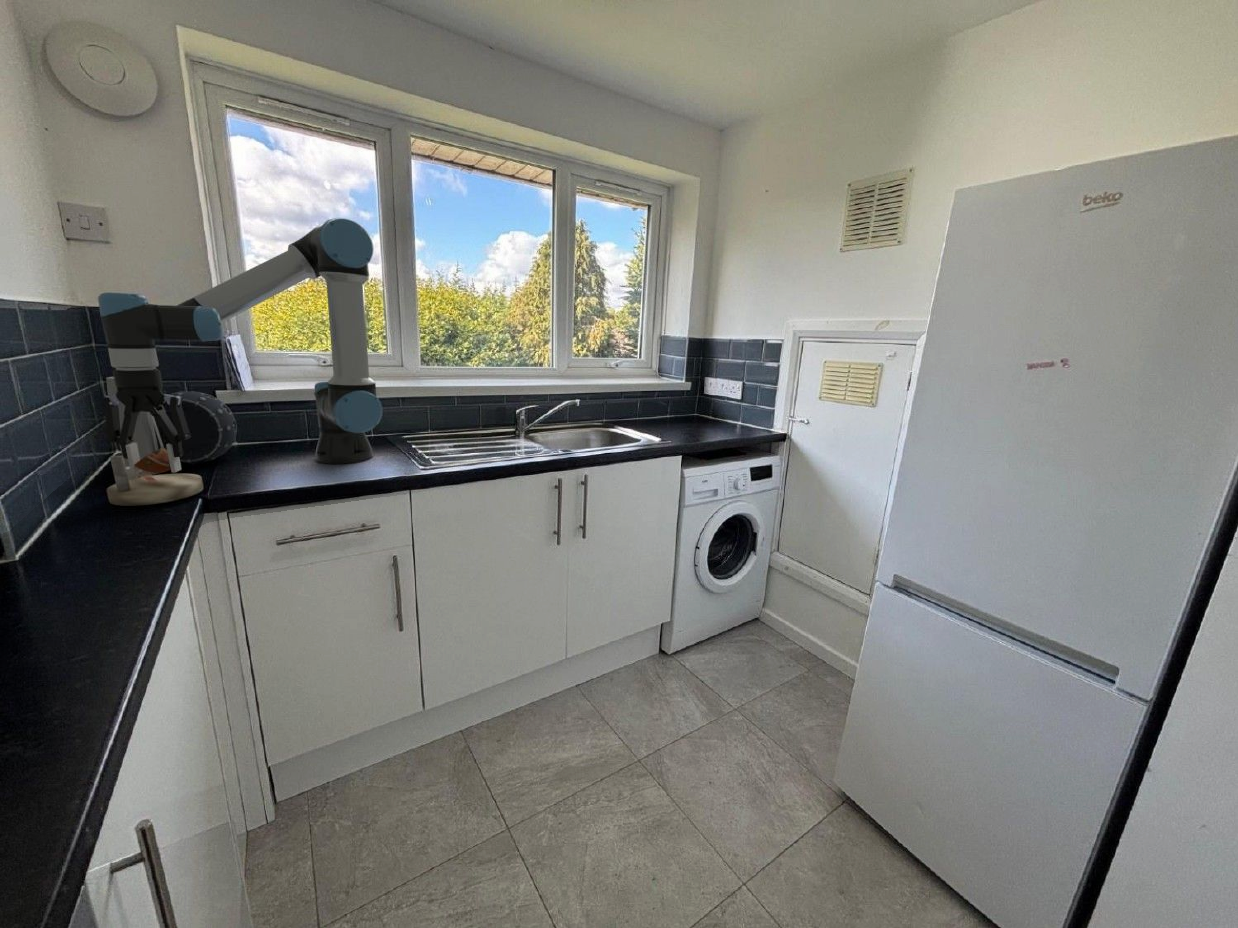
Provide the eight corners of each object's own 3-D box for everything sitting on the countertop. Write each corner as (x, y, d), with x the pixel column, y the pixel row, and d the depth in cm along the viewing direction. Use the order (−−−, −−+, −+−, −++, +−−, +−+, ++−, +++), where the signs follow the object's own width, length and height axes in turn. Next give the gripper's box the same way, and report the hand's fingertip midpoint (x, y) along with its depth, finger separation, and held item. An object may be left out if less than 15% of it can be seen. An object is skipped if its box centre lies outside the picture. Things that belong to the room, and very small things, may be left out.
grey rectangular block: (141, 487, 123) (137, 467, 121) (127, 490, 120) (123, 469, 119) (136, 485, 124) (132, 466, 122) (123, 488, 122) (118, 468, 120)
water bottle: (116, 478, 129) (93, 378, 122) (142, 470, 136) (122, 375, 130) (156, 478, 130) (135, 379, 123) (179, 470, 137) (160, 376, 131)
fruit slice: (166, 476, 113) (162, 454, 112) (128, 478, 111) (123, 456, 110) (183, 467, 121) (180, 446, 120) (148, 468, 119) (144, 447, 117)
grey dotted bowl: (231, 465, 144) (219, 393, 139) (144, 468, 138) (128, 394, 133) (246, 456, 154) (235, 389, 148) (165, 459, 148) (151, 389, 143)
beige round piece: (164, 479, 126) (156, 439, 124) (220, 488, 121) (213, 446, 118) (82, 498, 111) (71, 454, 109) (141, 509, 106) (131, 463, 104)
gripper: (198, 367, 116) (215, 465, 122) (90, 366, 111) (113, 469, 117) (182, 370, 109) (200, 474, 115) (66, 369, 104) (91, 478, 110)
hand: (157, 471), depth 116 cm, fingers closed on fruit slice, 7 cm apart
